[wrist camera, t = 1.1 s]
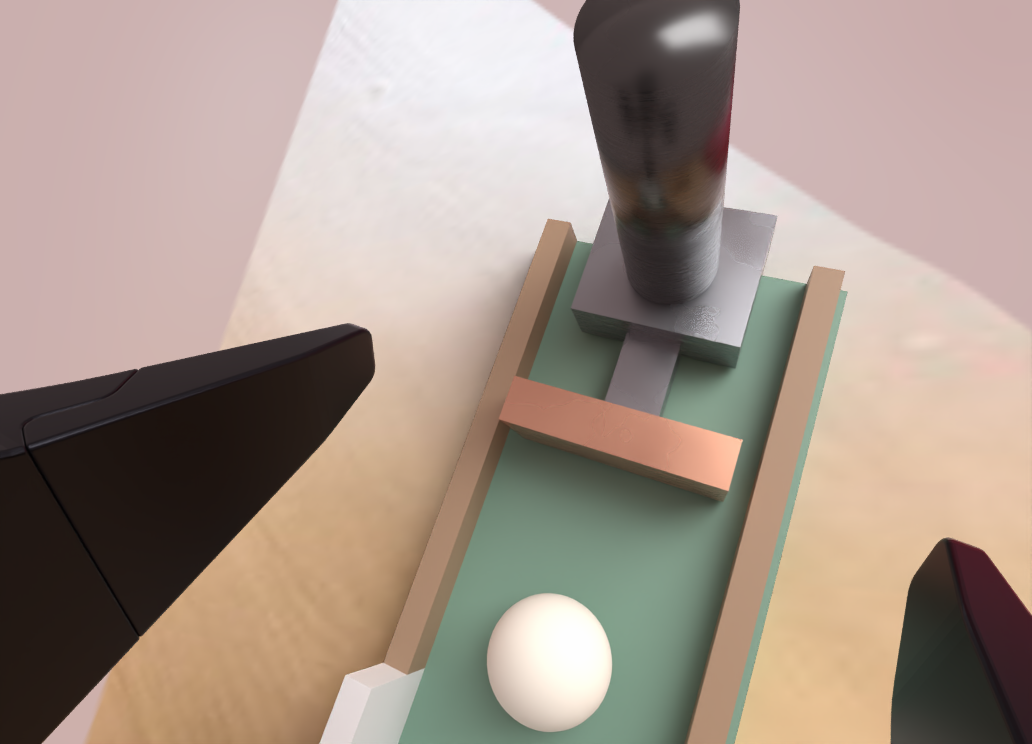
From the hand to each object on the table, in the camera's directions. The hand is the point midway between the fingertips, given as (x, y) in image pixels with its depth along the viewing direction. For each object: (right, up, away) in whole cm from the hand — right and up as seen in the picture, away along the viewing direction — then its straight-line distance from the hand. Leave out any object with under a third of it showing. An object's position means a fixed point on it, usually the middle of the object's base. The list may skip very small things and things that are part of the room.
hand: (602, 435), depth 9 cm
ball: (0, -8, +10) cm, 13 cm away
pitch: (+2, -6, +13) cm, 15 cm away
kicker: (+4, +2, +14) cm, 15 cm away
